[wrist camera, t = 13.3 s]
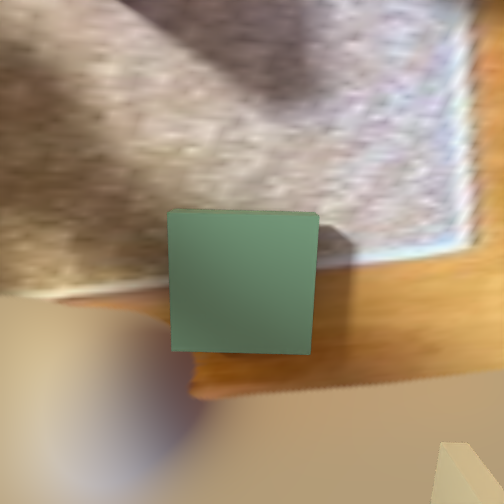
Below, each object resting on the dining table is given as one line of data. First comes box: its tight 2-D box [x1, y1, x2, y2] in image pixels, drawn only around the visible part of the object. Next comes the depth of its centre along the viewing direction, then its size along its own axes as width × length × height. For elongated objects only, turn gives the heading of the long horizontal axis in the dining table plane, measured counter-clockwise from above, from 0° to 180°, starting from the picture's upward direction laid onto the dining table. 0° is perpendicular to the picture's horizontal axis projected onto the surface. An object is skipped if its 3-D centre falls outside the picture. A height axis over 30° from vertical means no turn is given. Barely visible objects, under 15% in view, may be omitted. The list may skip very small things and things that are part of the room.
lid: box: [167, 209, 319, 355], centre depth 30 cm, size 11×11×4 cm
